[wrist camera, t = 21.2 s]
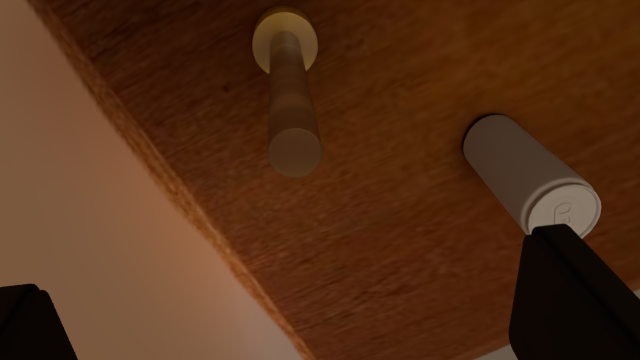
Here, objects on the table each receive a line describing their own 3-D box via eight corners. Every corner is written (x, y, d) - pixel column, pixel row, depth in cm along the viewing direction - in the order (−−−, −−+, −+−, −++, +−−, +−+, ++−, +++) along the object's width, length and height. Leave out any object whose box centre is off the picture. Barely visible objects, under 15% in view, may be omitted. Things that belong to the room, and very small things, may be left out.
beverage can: (463, 171, 42) (527, 257, 31) (457, 120, 40) (524, 194, 29) (519, 157, 42) (602, 238, 31) (516, 105, 39) (605, 173, 29)
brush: (249, 7, 34) (224, 101, 17) (312, 2, 34) (353, 89, 17) (257, 69, 36) (243, 211, 19) (316, 64, 36) (357, 199, 19)
